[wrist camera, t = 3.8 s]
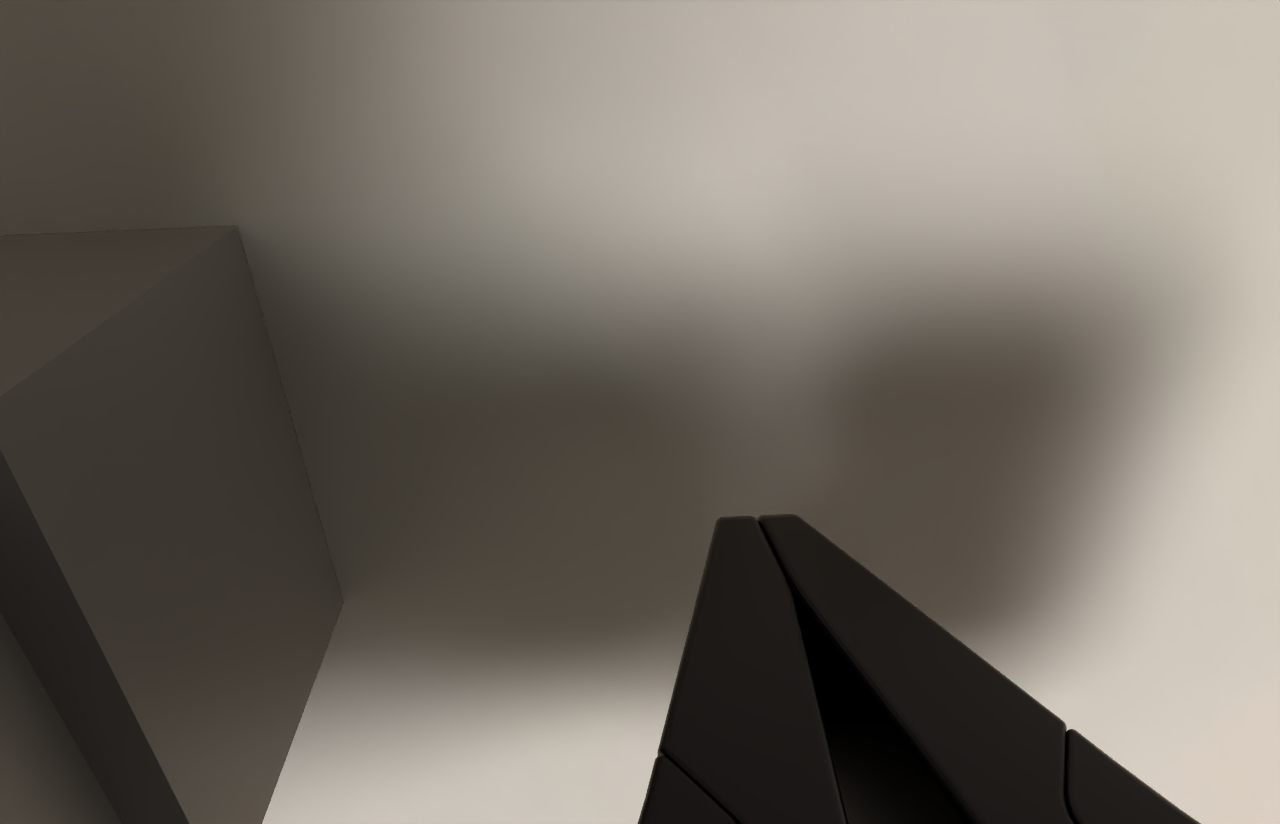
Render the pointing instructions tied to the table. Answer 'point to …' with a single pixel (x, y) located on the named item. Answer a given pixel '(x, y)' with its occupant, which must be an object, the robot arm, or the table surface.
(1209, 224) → the table surface
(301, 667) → the two tier gray step
